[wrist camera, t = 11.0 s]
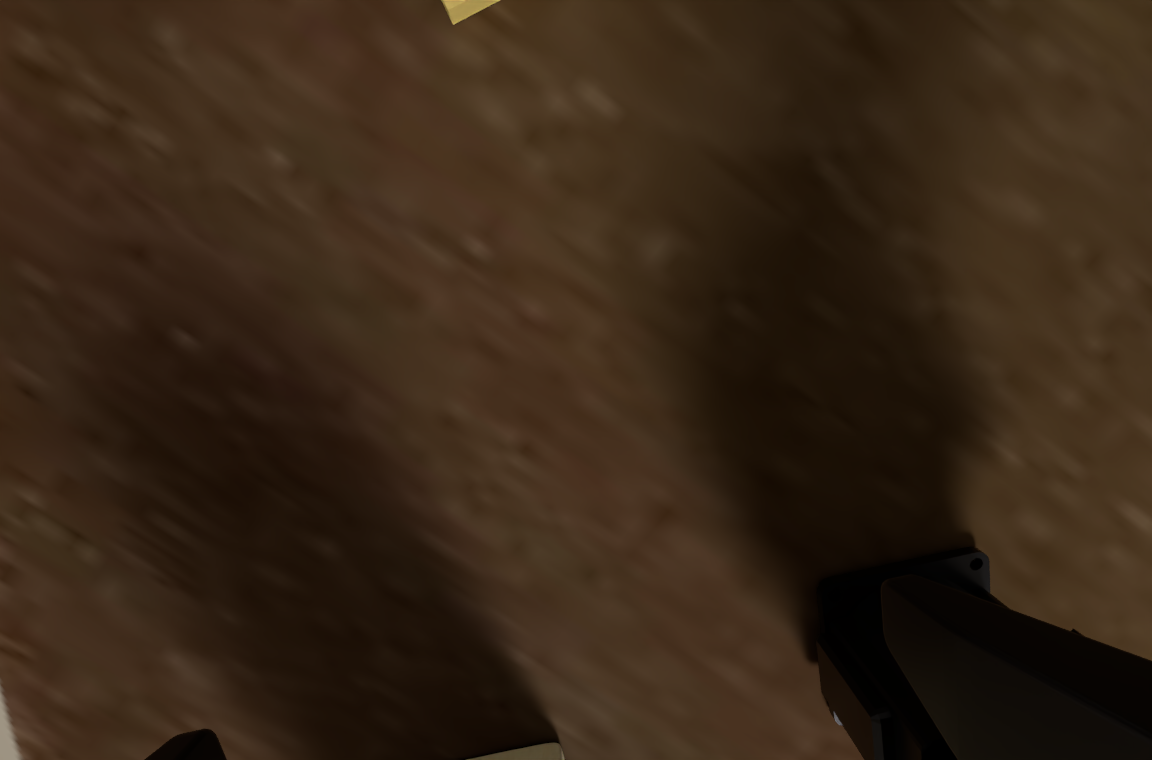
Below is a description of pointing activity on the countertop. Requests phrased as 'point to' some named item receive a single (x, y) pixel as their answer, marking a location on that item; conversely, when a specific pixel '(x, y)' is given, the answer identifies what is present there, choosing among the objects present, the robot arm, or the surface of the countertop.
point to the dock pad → (464, 8)
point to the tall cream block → (528, 753)
